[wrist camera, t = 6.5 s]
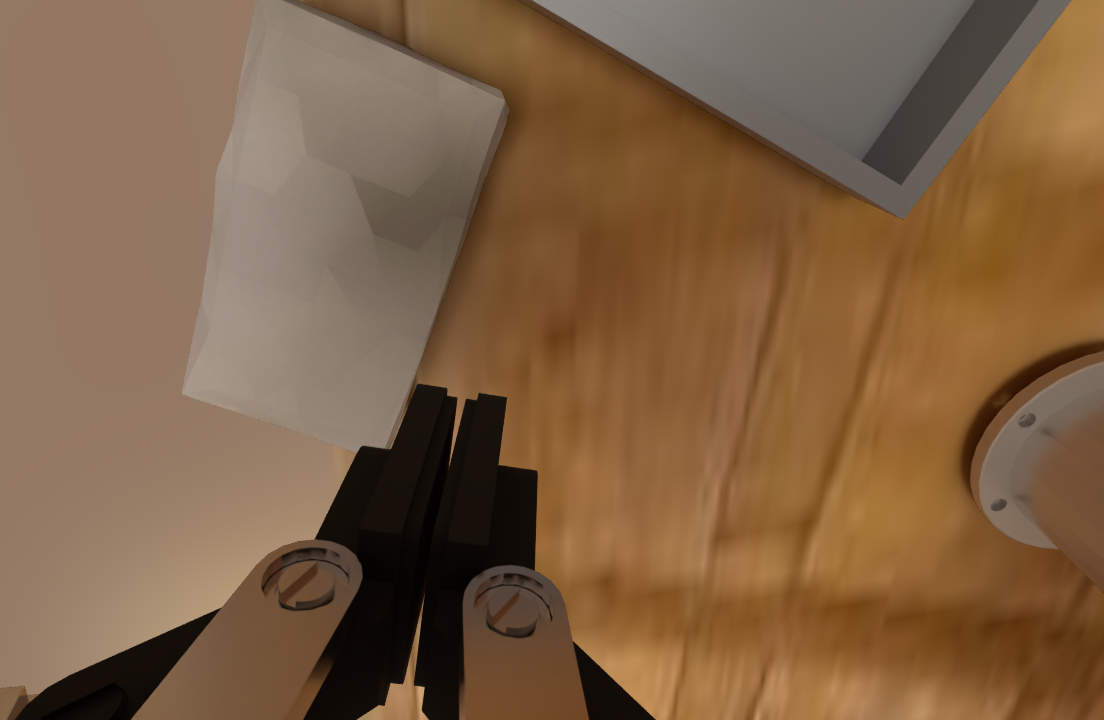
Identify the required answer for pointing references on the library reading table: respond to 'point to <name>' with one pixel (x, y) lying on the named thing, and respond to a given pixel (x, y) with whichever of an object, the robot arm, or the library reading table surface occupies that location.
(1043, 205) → the library reading table surface
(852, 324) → the library reading table surface
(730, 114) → the tote
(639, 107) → the library reading table surface
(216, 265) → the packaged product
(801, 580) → the library reading table surface
